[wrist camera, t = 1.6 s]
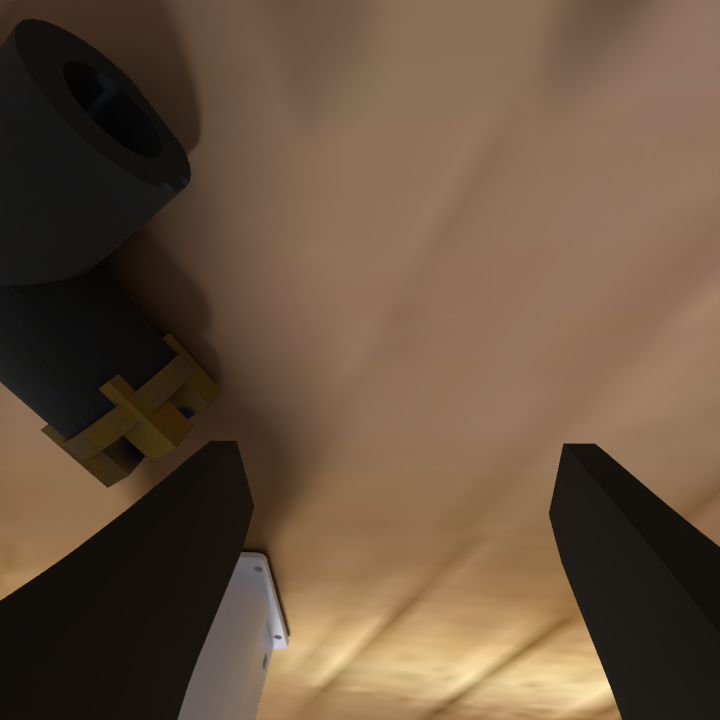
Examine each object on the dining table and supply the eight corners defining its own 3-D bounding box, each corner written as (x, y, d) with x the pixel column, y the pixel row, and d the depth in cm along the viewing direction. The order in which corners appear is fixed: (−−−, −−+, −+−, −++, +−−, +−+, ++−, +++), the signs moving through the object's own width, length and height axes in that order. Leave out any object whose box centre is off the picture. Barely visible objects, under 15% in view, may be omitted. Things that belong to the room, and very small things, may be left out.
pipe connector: (287, 391, 13) (18, 544, 18) (321, 323, 17) (99, 460, 22) (-51, -11, 9) (-271, 333, 14) (109, 42, 13) (-99, 284, 19)
